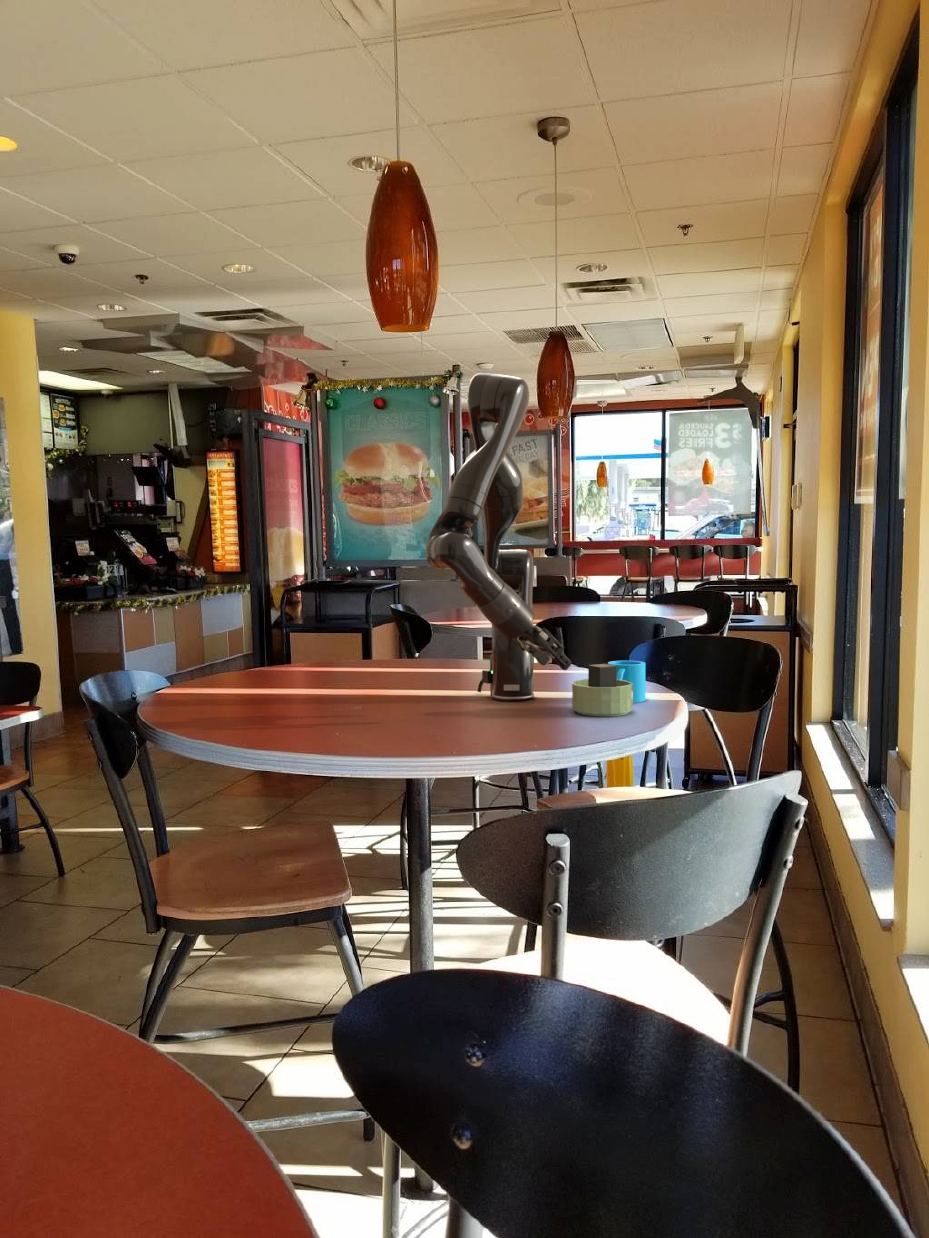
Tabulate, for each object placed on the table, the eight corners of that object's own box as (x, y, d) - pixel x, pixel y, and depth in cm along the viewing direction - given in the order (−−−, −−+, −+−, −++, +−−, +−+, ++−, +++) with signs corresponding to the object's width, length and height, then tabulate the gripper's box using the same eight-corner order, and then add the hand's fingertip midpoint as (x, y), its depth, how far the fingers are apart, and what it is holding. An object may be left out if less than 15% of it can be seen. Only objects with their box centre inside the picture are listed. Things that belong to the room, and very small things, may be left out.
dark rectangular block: (599, 711, 187) (599, 667, 186) (588, 708, 191) (588, 664, 190) (616, 709, 188) (616, 666, 188) (604, 706, 192) (604, 663, 192)
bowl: (560, 711, 191) (560, 682, 191) (603, 704, 198) (603, 676, 198) (600, 719, 181) (600, 689, 181) (645, 712, 188) (645, 683, 188)
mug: (612, 695, 210) (612, 660, 209) (648, 697, 206) (648, 661, 206) (599, 704, 199) (599, 666, 198) (637, 706, 195) (637, 668, 195)
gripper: (535, 597, 173) (587, 654, 179) (500, 593, 186) (551, 647, 192) (510, 626, 171) (563, 683, 177) (477, 621, 184) (528, 674, 190)
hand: (557, 664), depth 184 cm, fingers open, 8 cm apart
